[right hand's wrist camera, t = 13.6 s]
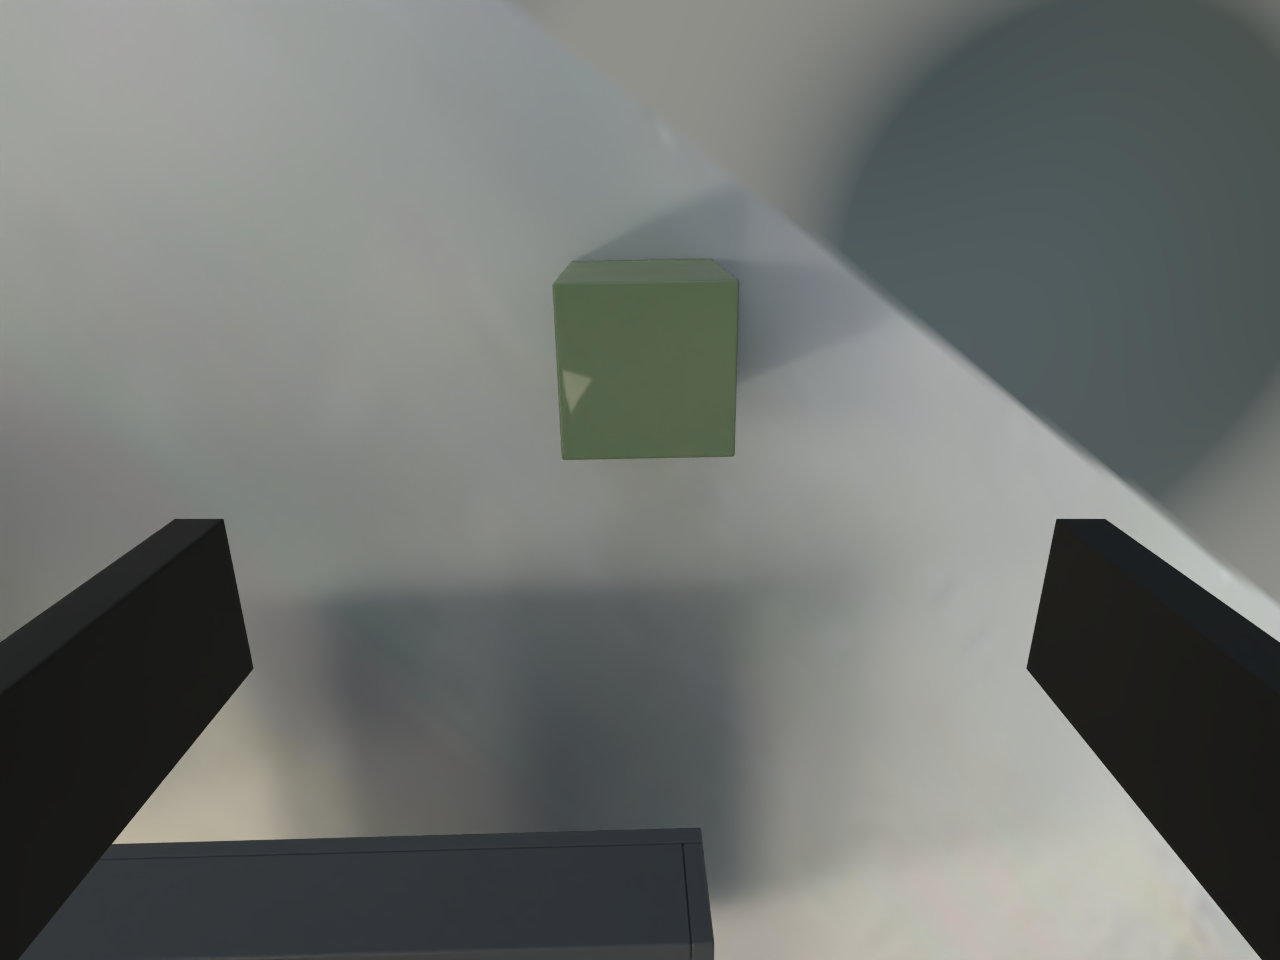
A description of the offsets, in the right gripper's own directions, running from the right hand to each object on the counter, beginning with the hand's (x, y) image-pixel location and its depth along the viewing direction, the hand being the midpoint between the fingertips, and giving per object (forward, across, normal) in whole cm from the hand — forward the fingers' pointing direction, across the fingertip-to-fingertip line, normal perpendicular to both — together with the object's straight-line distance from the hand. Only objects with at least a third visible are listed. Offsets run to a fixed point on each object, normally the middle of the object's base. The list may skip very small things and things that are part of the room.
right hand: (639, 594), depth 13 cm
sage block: (+17, 0, +1) cm, 17 cm away
